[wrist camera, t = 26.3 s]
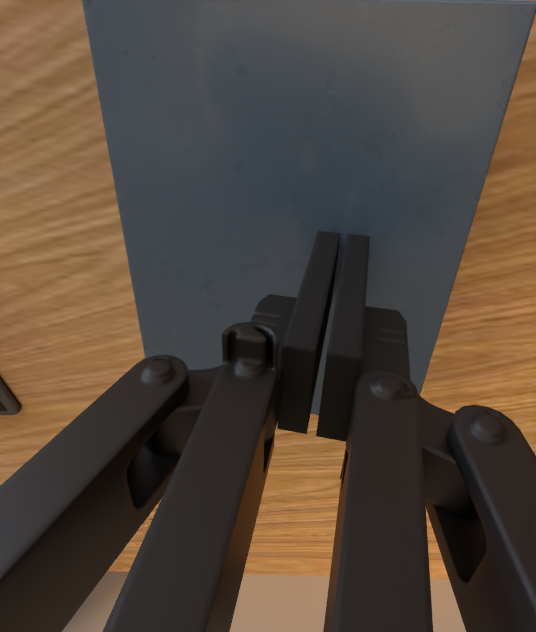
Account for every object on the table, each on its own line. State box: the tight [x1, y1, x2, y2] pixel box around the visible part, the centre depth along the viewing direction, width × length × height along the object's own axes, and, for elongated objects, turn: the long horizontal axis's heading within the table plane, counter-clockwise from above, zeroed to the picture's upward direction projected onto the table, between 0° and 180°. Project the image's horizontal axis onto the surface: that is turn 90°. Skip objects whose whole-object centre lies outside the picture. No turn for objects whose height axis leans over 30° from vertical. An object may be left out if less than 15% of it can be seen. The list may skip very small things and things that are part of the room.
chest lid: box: [82, 0, 536, 415], centre depth 16 cm, size 12×16×1 cm
